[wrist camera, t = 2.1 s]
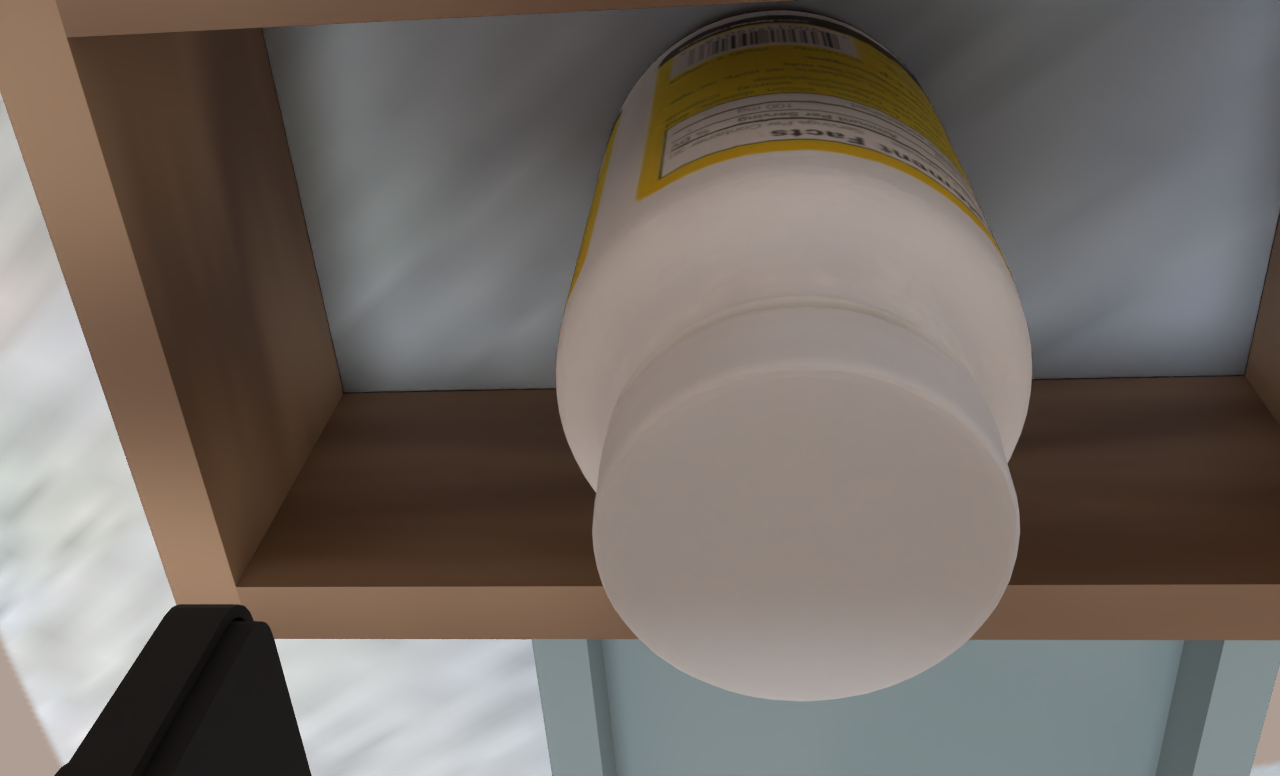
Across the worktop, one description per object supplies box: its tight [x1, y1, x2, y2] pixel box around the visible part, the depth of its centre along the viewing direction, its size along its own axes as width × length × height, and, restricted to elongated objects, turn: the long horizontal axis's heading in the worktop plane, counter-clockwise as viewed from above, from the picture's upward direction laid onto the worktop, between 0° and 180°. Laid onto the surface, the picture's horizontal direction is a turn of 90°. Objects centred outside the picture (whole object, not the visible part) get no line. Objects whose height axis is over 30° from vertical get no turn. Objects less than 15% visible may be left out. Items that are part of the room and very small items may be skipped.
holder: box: [0, 0, 1280, 640], centre depth 17 cm, size 10×18×6 cm, turn 94°
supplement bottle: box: [556, 10, 1032, 701], centre depth 15 cm, size 5×5×10 cm
